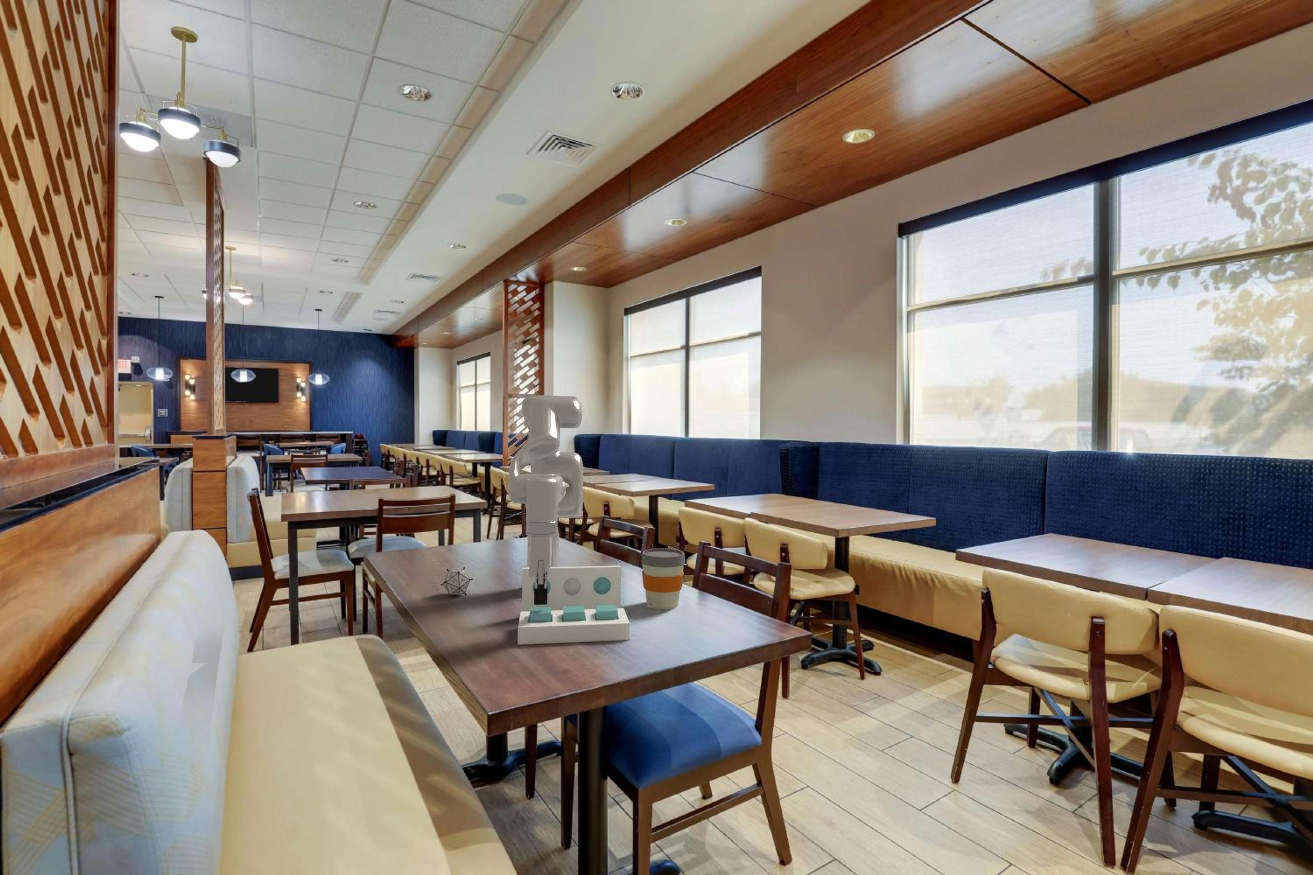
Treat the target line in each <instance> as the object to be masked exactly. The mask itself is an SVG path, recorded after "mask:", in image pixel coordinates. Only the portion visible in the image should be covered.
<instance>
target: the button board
mask: <svg viewBox="0 0 1313 875" xmlns="http://www.w3.org/2000/svg"><path fill="white" fill-rule="evenodd" d="M617 610H618V619H616V620H596V619H595V614H596V609H584V611H585V621H563V610H553V611H551V622H534V623H530V611H523V612H522V611H520V614H519V619H518V626H517V646H518V645H535V644H536V645H537V644H538V645H540V644H541V645H542V644H561V643H562V644H564V643H566V644H567V643H582V642H585V643H588V642H590V643H591V642H607V641H608V642H609V641H610V642H611V641H629V640H630V624H631V623H630V620H629V618H628V616H627V612H626V611H625V608H622V607H620V608H617Z"/></svg>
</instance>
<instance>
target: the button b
mask: <svg viewBox="0 0 1313 875" xmlns="http://www.w3.org/2000/svg"><path fill="white" fill-rule="evenodd" d="M563 621H585V611H584V606H563Z"/></svg>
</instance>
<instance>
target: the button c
mask: <svg viewBox="0 0 1313 875" xmlns="http://www.w3.org/2000/svg"><path fill="white" fill-rule="evenodd" d="M595 619H596V620H616V619H618V610H617V607H616V605H596V614H595Z"/></svg>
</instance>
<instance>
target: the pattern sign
mask: <svg viewBox="0 0 1313 875" xmlns="http://www.w3.org/2000/svg"><path fill="white" fill-rule="evenodd" d="M521 574H522V575H521V576H522V581H521V582H522V584H521V612H523V611H530V607H551V611H553V610H563V606H584V609H596V605H616V607H617V608H621V596H622V595H621V593H622V591H621V590H622V587H621V585H622V566H621V565H596V566H595V565H594V566H588V565H587V566H559V567H551V569H550V576H549V577H548V578H547V587H548V597H547V605H534V587H535V575H534V577H532V578H530V577H529V568H527V567H522V572H521ZM544 580H545V579H544Z"/></svg>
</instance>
